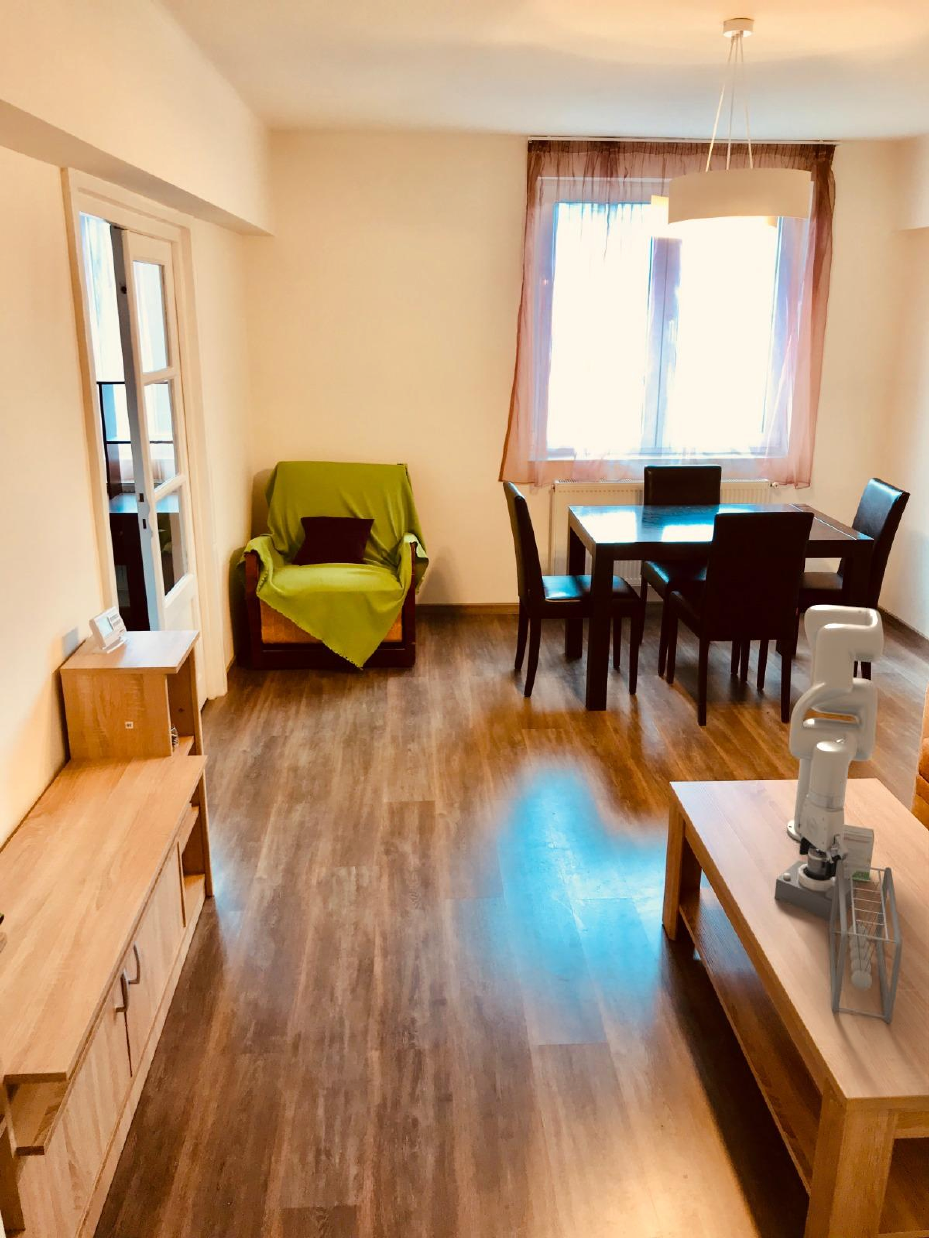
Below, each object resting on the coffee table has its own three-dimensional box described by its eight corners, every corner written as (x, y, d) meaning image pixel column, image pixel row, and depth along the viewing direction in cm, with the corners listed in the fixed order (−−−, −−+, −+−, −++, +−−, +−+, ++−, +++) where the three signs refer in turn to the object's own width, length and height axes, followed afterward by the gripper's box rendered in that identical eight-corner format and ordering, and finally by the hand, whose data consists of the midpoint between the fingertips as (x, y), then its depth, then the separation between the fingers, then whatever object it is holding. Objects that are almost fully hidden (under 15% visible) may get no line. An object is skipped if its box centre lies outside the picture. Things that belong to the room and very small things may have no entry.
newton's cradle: (829, 926, 212) (837, 855, 207) (880, 935, 209) (890, 863, 204) (831, 1016, 185) (841, 936, 180) (891, 1028, 182) (903, 947, 176)
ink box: (830, 876, 231) (835, 832, 227) (829, 865, 236) (835, 822, 232) (868, 882, 228) (874, 838, 225) (867, 871, 233) (873, 827, 229)
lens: (801, 876, 222) (804, 845, 220) (820, 873, 223) (823, 842, 221) (813, 888, 217) (817, 856, 215) (833, 884, 218) (837, 853, 216)
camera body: (797, 878, 230) (799, 852, 228) (854, 902, 221) (858, 875, 219) (774, 897, 223) (777, 870, 221) (833, 922, 213) (836, 895, 211)
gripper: (789, 781, 221) (782, 848, 226) (835, 817, 205) (827, 888, 210) (817, 777, 223) (810, 843, 228) (866, 812, 207) (857, 882, 212)
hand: (818, 864), depth 219 cm, fingers open, 9 cm apart
